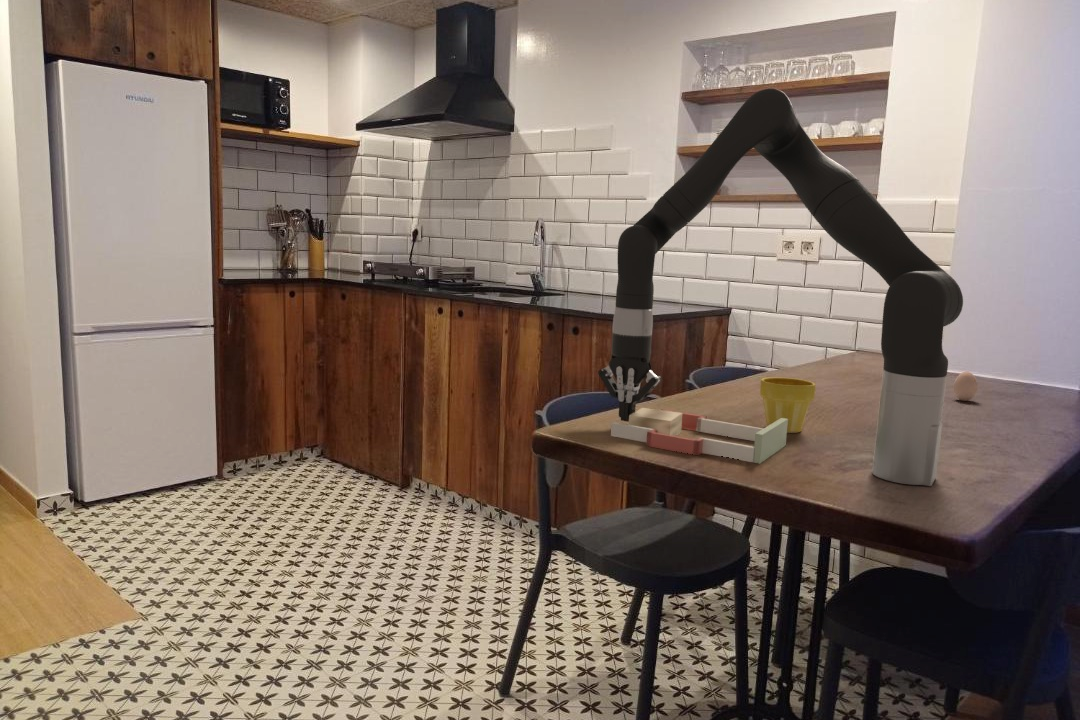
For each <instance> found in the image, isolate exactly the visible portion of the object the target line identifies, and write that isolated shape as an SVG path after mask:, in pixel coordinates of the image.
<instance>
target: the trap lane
mask: <svg viewBox="0 0 1080 720" xmlns="http://www.w3.org/2000/svg"><path fill="white" fill-rule="evenodd" d="M660 410H663V411H670V412H676V411H675V410H668V409H663V408H662V409H661V408H660ZM677 412H678V413H682V428H681V430H686V431H688V430H689V431H693V432H700V433H706V434H710V435H711V434H712V435H717V436H723V437H727V436H728V437H729V438H734V439H739V440H746V441H751V442H754V445H753V446H752V445H746V444H742V443H741V444H740V443H734V442H729V441H724V440H718V439H712V438H706V437H701V436H700V437H699V438H697V439H694V438H689V437H688V438H687V437H682V436H678V435H677V436H672V435H667V434H661V433H658V430H656V429H650V428H645V427H639V426H633V425H629V423H628V424H626V423H622V422H616V421H612V422H611V424H610V425H611V426H610V427H611V429H610V437H615V438H621V439H625V440H630V441H635V442H642V443H646V447H650V448H657V449H661V450H667V451H673V452H676V451H677V453H681V452H682V454H687V453H688V455H692V454H693V456H697V455H698V456H699V455H701V454H705V455H710V456H711V455H712V456H715V457H716V456H717V457H721V456H723V457H722V458H726V457H729V458H728V459H732V458H734V459H733V460H737V459H739V460H738V461H742V462H743V461H744V462H749V463H755V464H759V465H760V464H762V463H763V462H765V461H766V460H767V459H769V458H770V457H772V456H773V455H774V454H776V453H777V452H779V451H780V450H782V449H783V448H784V447H786V443H787V434H788V433H787V425H788V419H785V418H780V419H779V420H777V421H775V422H774V423H772V424H770V425H769V426H767V425H766V427H764V428H763V427H758V426H751V425H746V424H740V423H739V424H738V423H732V422H727V421H721V420H714V419H708V418H707V416H705V415H699V414H695V413H694V414H692V413H687V412H680V411H677Z"/></svg>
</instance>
